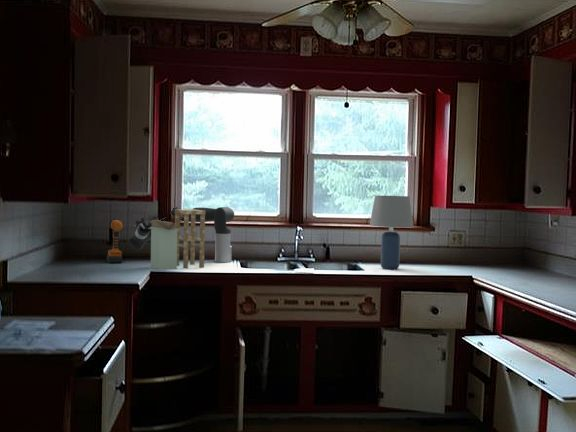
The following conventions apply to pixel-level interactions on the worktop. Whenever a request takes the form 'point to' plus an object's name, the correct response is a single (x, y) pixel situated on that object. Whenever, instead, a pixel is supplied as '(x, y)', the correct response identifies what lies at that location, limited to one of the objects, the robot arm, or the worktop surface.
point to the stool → (190, 238)
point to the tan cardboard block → (163, 224)
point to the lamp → (391, 225)
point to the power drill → (115, 243)
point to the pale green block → (163, 248)
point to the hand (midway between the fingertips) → (150, 218)
